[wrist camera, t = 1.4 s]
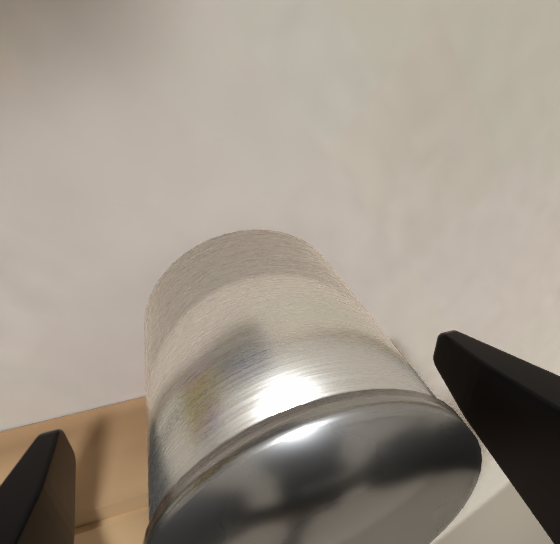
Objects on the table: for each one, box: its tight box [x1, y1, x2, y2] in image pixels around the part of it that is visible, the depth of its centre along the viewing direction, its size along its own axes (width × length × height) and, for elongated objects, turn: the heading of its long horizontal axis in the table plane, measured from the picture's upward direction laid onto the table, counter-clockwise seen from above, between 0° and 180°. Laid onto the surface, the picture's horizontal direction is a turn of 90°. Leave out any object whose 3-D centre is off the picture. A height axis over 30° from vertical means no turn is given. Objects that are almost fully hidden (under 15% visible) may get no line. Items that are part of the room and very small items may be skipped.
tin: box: [143, 230, 482, 544], centre depth 9 cm, size 6×6×6 cm
